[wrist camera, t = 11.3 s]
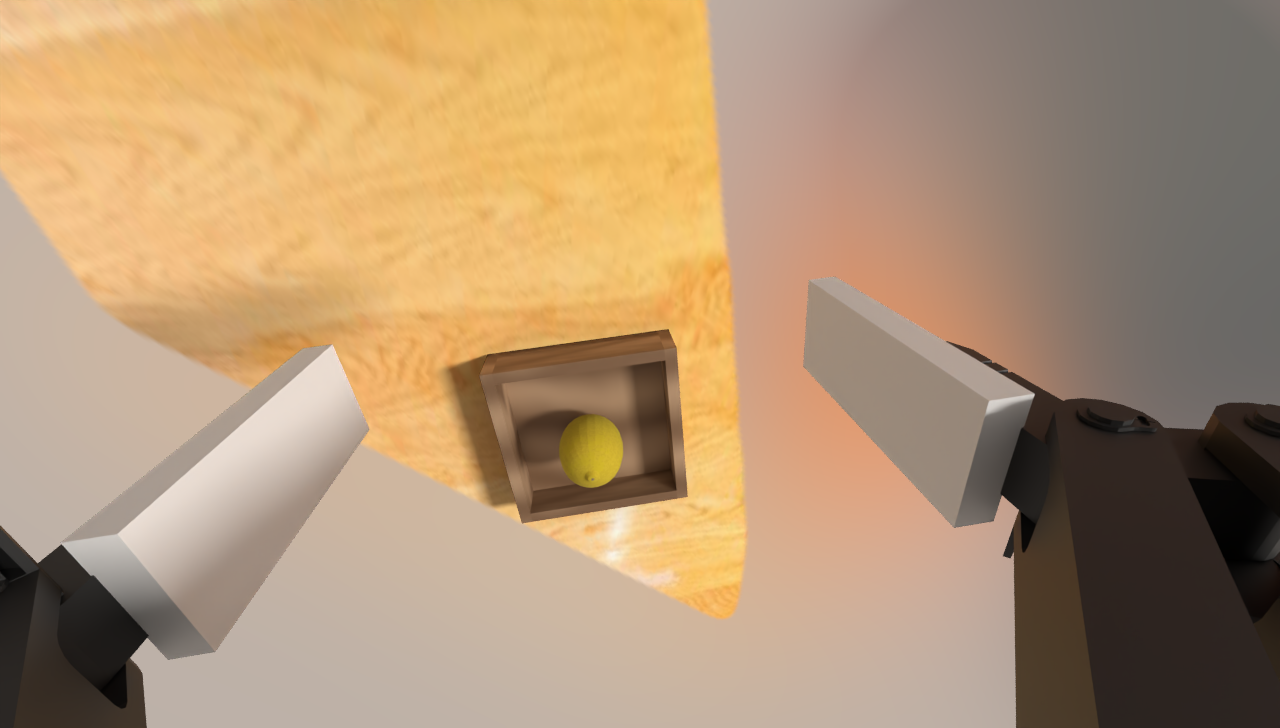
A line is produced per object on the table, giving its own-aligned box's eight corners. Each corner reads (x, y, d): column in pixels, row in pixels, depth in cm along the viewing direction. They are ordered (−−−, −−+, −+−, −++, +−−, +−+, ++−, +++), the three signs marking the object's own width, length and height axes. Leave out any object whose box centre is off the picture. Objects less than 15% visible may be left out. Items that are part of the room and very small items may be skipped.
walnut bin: (487, 354, 41) (479, 375, 38) (668, 329, 42) (676, 347, 39) (526, 494, 49) (521, 523, 45) (679, 470, 50) (687, 496, 46)
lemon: (587, 457, 47) (588, 516, 39) (548, 421, 44) (542, 478, 37) (631, 425, 45) (641, 480, 38) (593, 387, 43) (597, 438, 36)
